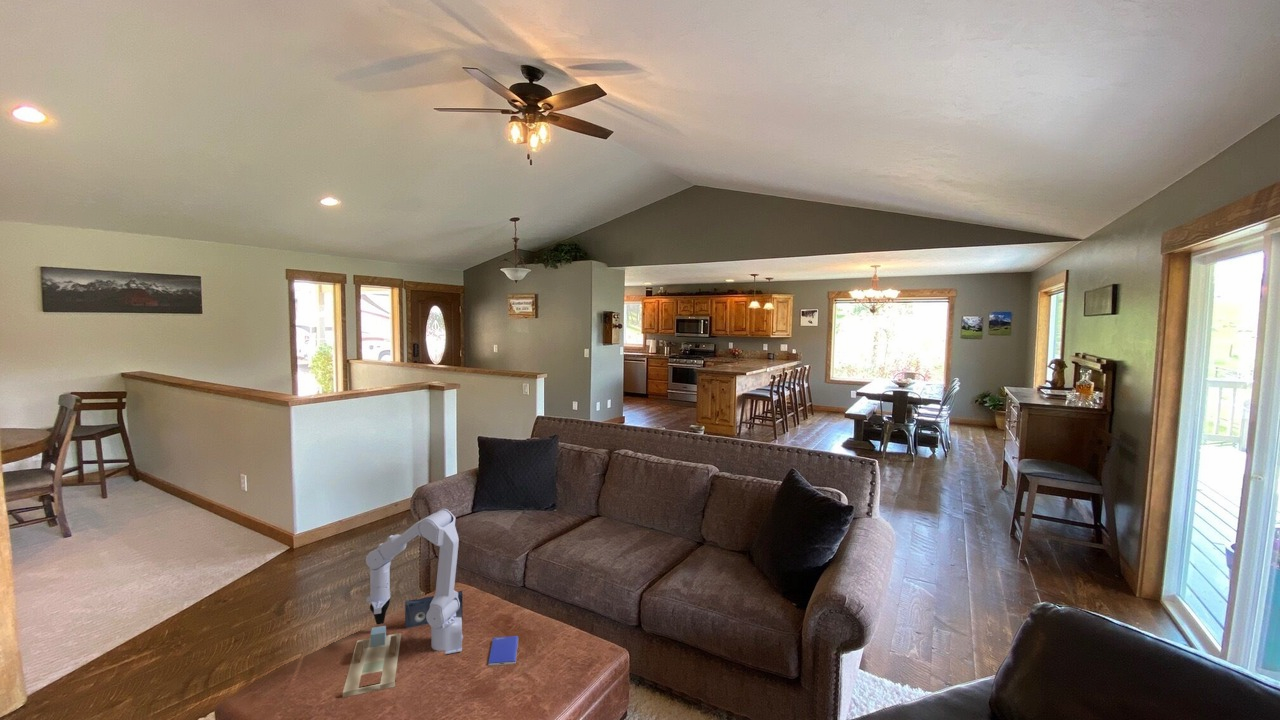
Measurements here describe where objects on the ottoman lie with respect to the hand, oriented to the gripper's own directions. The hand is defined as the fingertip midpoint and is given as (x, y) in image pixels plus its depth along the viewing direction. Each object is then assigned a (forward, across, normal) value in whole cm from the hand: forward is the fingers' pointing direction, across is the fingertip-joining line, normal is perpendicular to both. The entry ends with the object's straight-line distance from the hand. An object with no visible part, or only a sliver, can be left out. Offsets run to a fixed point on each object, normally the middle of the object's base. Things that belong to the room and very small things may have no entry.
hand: (380, 622), depth 168 cm
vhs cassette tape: (+5, -1, +17) cm, 17 cm away
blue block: (+3, +6, 0) cm, 7 cm away
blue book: (+5, +21, +38) cm, 43 cm away
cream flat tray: (+4, +15, 0) cm, 16 cm away
